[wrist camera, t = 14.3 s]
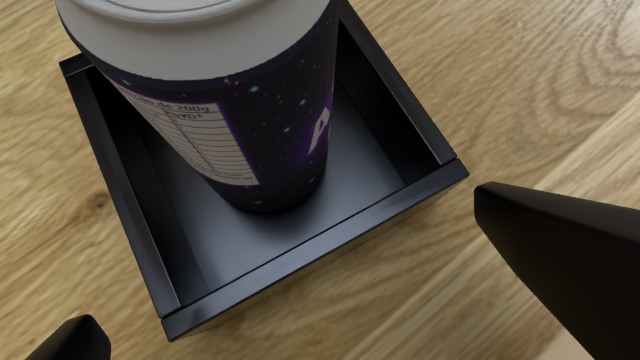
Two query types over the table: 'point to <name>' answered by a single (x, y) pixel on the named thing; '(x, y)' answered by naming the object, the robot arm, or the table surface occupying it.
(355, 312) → the table surface
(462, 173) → the black open tray
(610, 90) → the table surface
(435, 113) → the table surface
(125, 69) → the beverage can
